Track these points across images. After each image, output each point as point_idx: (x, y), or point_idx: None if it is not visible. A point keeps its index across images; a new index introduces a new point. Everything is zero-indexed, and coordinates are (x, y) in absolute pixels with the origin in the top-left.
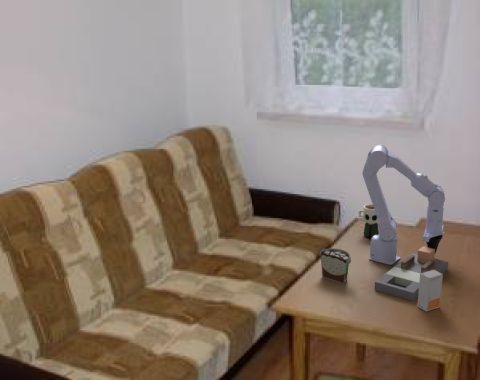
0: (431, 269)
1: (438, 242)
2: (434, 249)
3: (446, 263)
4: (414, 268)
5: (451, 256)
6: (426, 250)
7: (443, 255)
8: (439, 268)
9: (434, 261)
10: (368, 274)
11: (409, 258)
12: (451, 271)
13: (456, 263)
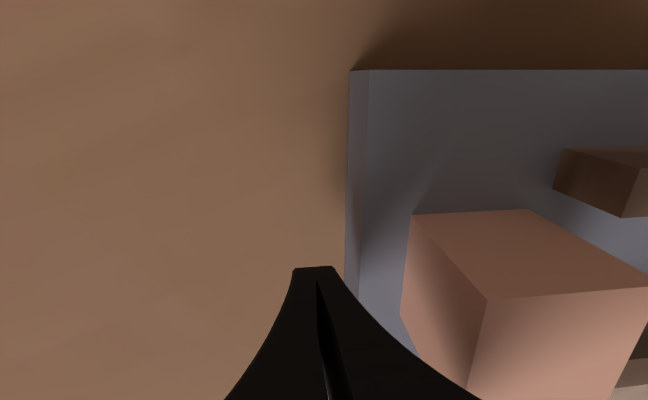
0: (632, 142)
1: (318, 378)
2: (500, 297)
3: (426, 72)
4: (641, 262)
5: (38, 166)
6: (583, 351)
7: (83, 231)
8: (588, 84)
9: (628, 164)
10: (621, 395)
11: (640, 366)
12: (374, 21)
13: (158, 54)
